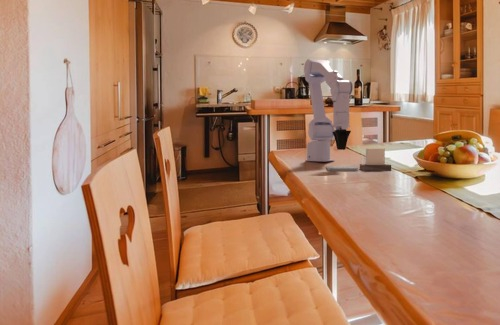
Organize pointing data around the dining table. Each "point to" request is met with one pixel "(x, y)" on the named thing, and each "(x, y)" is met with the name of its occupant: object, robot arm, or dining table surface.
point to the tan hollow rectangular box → (375, 167)
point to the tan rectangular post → (375, 156)
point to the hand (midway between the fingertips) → (341, 149)
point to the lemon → (421, 154)
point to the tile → (341, 168)
